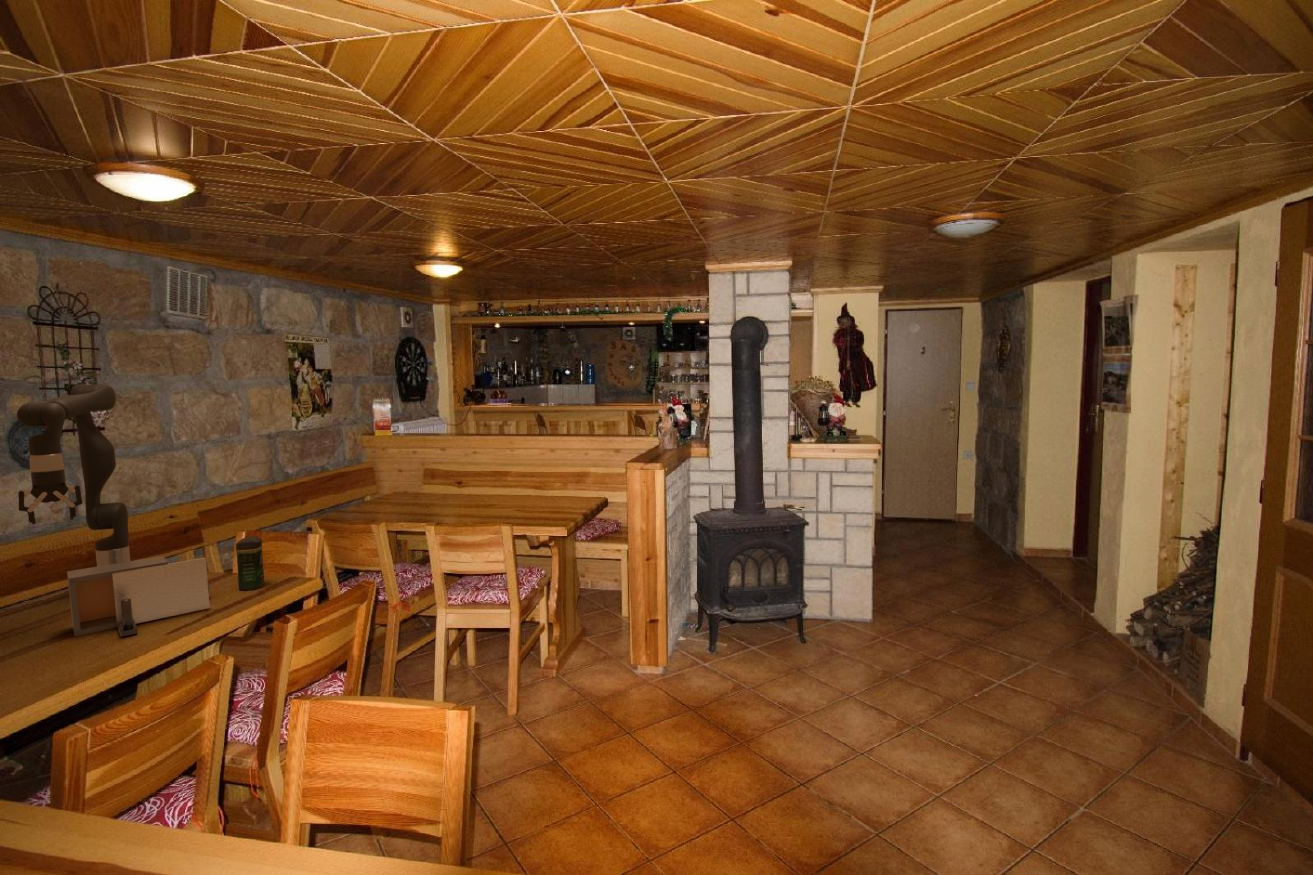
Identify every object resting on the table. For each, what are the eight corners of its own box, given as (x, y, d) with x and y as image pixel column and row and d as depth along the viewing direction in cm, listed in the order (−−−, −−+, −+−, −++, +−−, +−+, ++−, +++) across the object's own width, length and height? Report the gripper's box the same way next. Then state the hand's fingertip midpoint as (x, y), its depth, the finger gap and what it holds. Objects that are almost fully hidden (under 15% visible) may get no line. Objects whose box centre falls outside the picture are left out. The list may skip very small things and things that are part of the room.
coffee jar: (261, 589, 240) (258, 539, 238) (236, 592, 237) (232, 541, 235) (267, 581, 249) (263, 533, 247) (242, 584, 246) (239, 535, 245)
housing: (73, 627, 205) (67, 571, 203) (167, 607, 222) (163, 555, 220) (74, 636, 198) (68, 578, 196) (172, 615, 215) (167, 561, 213)
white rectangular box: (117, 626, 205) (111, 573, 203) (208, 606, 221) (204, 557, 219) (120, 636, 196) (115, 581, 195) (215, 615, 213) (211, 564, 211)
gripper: (78, 465, 206) (83, 516, 208) (14, 470, 197) (20, 523, 198) (79, 467, 201) (84, 519, 203) (14, 473, 191) (20, 527, 193)
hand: (53, 521), depth 200 cm, fingers open, 8 cm apart
